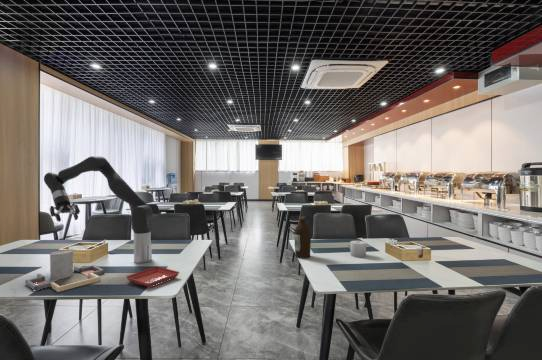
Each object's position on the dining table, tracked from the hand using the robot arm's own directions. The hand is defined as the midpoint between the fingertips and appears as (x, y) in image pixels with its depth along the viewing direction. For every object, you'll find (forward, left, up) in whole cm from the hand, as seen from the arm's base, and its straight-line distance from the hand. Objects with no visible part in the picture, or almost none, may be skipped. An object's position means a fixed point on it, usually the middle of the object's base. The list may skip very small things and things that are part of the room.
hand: (68, 220), depth 170 cm
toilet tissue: (-174, +7, -26) cm, 176 cm away
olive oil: (-139, +6, -26) cm, 141 cm away
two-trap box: (-14, +29, -25) cm, 41 cm away
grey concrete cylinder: (-8, +23, -26) cm, 35 cm away
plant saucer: (-56, +36, -26) cm, 71 cm away
